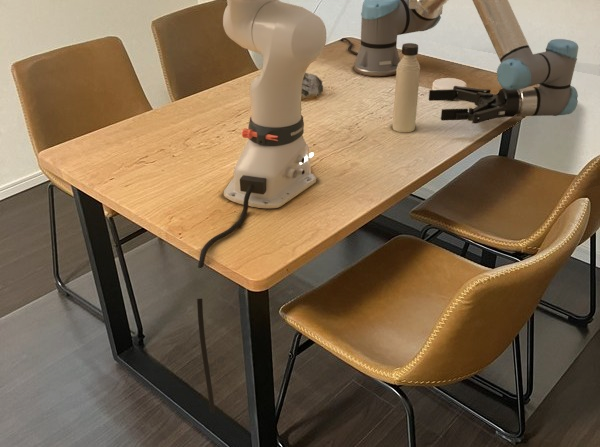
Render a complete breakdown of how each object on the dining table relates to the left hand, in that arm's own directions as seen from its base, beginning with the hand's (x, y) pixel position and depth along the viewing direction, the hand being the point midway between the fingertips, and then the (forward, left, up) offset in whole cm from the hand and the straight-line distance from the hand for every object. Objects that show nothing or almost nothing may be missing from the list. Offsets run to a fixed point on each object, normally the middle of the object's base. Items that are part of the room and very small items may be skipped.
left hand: (410, 3), depth 149 cm
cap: (0, -1, -10) cm, 10 cm away
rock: (+13, +36, -32) cm, 50 cm away
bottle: (0, -1, -32) cm, 32 cm away
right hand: (+3, -8, -26) cm, 27 cm away
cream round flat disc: (+29, -6, -32) cm, 44 cm away
